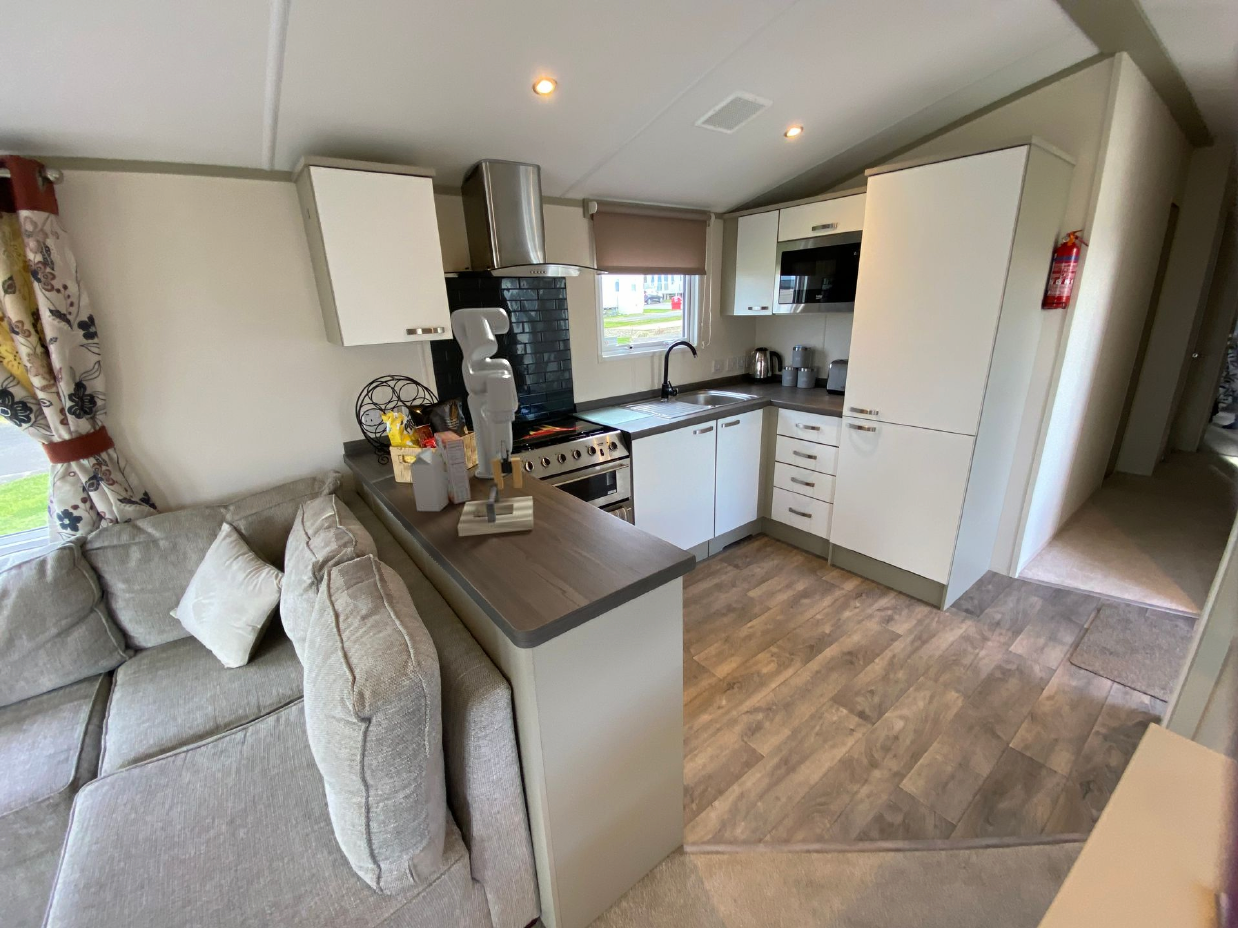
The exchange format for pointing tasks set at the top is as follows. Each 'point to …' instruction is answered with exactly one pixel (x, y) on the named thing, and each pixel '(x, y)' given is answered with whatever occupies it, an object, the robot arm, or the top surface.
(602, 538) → the top surface
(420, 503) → the milk carton
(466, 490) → the cracker box
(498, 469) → the tan wooden block
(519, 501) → the square frame with handle
